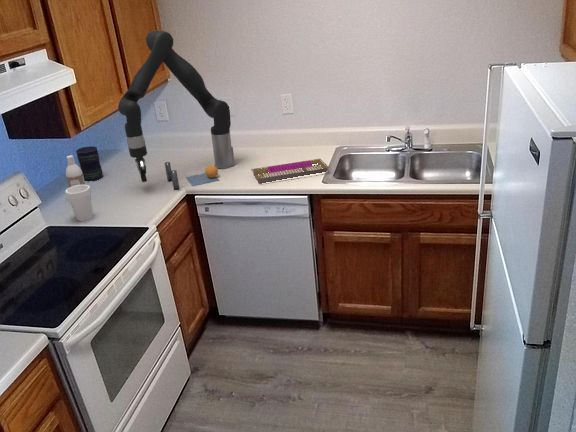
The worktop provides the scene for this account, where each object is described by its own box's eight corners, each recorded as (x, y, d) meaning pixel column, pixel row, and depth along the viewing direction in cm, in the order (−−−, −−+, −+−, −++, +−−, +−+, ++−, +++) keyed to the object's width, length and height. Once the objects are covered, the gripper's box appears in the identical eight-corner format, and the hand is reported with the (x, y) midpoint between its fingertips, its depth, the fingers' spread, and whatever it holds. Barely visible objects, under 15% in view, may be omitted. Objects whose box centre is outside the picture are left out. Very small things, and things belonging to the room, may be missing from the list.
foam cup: (76, 214, 222) (69, 185, 216) (98, 212, 222) (92, 183, 217) (70, 223, 213) (62, 194, 208) (93, 221, 214) (86, 192, 208)
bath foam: (71, 202, 234) (60, 159, 226) (73, 196, 240) (62, 154, 232) (87, 199, 235) (76, 157, 227) (89, 194, 242) (79, 152, 233)
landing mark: (211, 172, 258) (211, 171, 258) (219, 180, 247) (219, 180, 247) (185, 177, 253) (185, 177, 253) (192, 186, 243) (192, 185, 243)
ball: (216, 164, 253) (204, 163, 250) (220, 167, 248) (207, 166, 245) (215, 176, 255) (203, 175, 252) (218, 180, 250) (206, 179, 247)
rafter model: (320, 165, 259) (320, 153, 256) (330, 174, 246) (330, 162, 244) (251, 176, 251) (250, 163, 249) (258, 186, 239) (256, 173, 236)
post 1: (172, 179, 252) (169, 161, 249) (173, 180, 250) (170, 163, 246) (167, 180, 252) (163, 162, 248) (168, 182, 249) (165, 164, 245)
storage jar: (107, 177, 261) (100, 148, 254) (89, 183, 254) (82, 154, 248) (97, 173, 267) (90, 145, 261) (79, 179, 261) (72, 150, 254)
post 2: (178, 188, 241) (175, 169, 238) (180, 189, 239) (177, 171, 235) (173, 189, 241) (170, 170, 237) (174, 191, 238) (171, 172, 235)
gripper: (148, 147, 227) (155, 184, 235) (142, 139, 238) (149, 175, 246) (130, 150, 225) (138, 188, 232) (125, 142, 236) (133, 178, 243)
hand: (144, 181), depth 239 cm, fingers closed
